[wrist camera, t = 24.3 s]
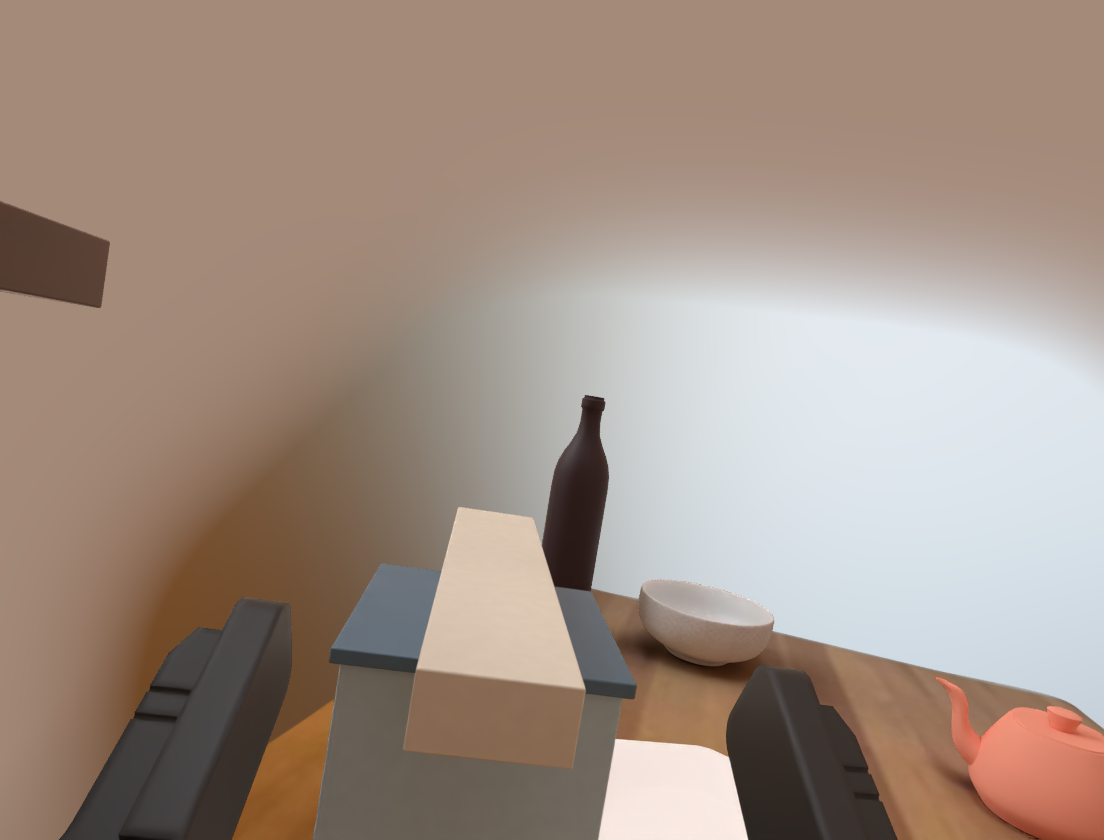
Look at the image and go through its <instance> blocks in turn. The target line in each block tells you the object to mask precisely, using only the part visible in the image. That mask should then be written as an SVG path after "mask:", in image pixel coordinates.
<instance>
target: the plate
mask: <svg viewBox="0 0 1104 840" xmlns="http://www.w3.org/2000/svg"><path fill="white" fill-rule="evenodd" d="M598 840H748V837H747V833H746V829H745V824H744V820H743V816H742V811H741V807H740V803H739V798H738V794H737V790H736V786H735V781H734V777H733V773H732V768H731V764H730V760H729V757H727V756H725V755H722V754H720V753H718V752H716V751H714V750H712V749H708V748H705V747H701V746H695V745H683V744H670V743H658V742H646V741H633V740H621V739H616V740H615V745H614V751H613V757H612V763H611V769H610V774H609V780H608V786H607V792H606V797H605V803H604V809H603V815H602V821H601V826H600V832H599V838H598Z"/></svg>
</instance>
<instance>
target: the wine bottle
mask: <svg viewBox="0 0 1104 840" xmlns="http://www.w3.org/2000/svg"><path fill="white" fill-rule="evenodd" d="M581 407H582V409H583V410H582V416H581V422H580V425H579V428H578V431H577V433H576V435H575V436H574V438H573V439H572V441H571V442H570V444H569V445H568V446H567V448H566V449H565V450H564V452H563V453H562V455H561V457H560V458H559V460H558V463H557V465H556V468H555V471H554V476H553V480H552V485H551V491H550V498H549V504H548V510H547V516H546V522H545V528H544V534H543V540H542V548H543V552H544V555H545V558H546V561H547V565H548V568H549V571H550V574H551V578H552V581H553V584H554V587H561V588H568V589H576V590H583V591H590V592H591V586H592V580H593V574H594V568H595V562H596V556H597V550H598V544H599V538H600V532H601V526H602V520H603V514H604V508H605V502H606V496H607V490H608V480H609V472H608V464H607V460H606V456H605V453H604V450H603V447H602V443H601V439H600V422H601V416H602V411H604V408H605V401H604V398H599V397H594V396H588V395H585V397H584V398H583V399H582V406H581Z"/></svg>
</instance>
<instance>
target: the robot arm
mask: <svg viewBox="0 0 1104 840" xmlns="http://www.w3.org/2000/svg"><path fill="white" fill-rule="evenodd" d="M291 667H292V632H291V606H290V604H289V603H286V602H278V601H270V600H262V599H254V598H245V597H242V598H241V599H239V600H238V602H237V603H236V605H235V606H234V608H233V610H232V612H231V614H230V616H229V618H228V620H227V622H226V624H225V626H224V628H223V630H216V629H208V628H200V627H198V628H197V629H196V630H195V631H193V632H192V633H191V634H190V635H189V636H188V637H187V638H186V639H184V640H183V641H182V642H181V643H180V644H179V645H177V646H176V647H175V648H174V649H173V650H172V651H171V652H170V653H169V654H168V655H167V657H166V659H165V660H164V662H163V664H162V666H161V667H160V669H159V671H158V673H157V674H156V676H155V678H154V680H153V681H152V683H151V685H150V690H149V691H148V692H146V694H145V695H144V697H143V699H142V701H141V702H140V704H139V706H138V708H137V709H136V711H135V716H134V718H133V719H131V720H130V722H129V723H128V725H127V727H126V729H125V730H124V732H123V734H122V736H121V737H120V739H119V741H118V743H117V745H116V746H115V748H114V750H113V752H112V753H111V755H110V757H109V758H108V760H107V762H106V764H105V765H104V767H103V769H102V771H101V772H100V774H99V776H98V778H97V779H96V781H95V783H94V785H93V786H92V788H91V790H90V792H89V793H88V795H87V797H86V799H85V801H84V802H83V804H82V806H81V807H80V809H79V811H78V813H77V814H76V816H75V818H74V820H73V821H72V823H71V824H70V826H69V827H68V829H67V830H66V832H65V833H64V834H63V836H62V837H61V838H60V839H59V840H232V837H233V835H234V832H235V829H236V827H237V824H238V821H239V819H240V816H241V813H242V811H243V808H244V805H245V803H246V800H247V797H248V795H249V792H250V789H251V787H252V784H253V781H254V778H255V776H256V773H257V770H258V768H259V765H260V762H261V760H262V757H263V754H264V752H265V749H266V746H267V744H268V741H269V738H270V736H271V733H272V730H273V727H274V725H275V722H276V720H277V717H278V714H279V712H280V709H281V706H282V703H283V701H284V698H285V695H286V691H287V688H288V684H289V679H290V674H291ZM726 743H727V750H728V755H729V760H730V764H731V768H732V773H733V777H734V781H735V786H736V790H737V794H738V798H739V803H740V807H741V811H742V816H743V820H744V824H745V829H746V833H747V837H748V840H897V837H896V835H895V832H894V830H893V827H892V825H891V822H890V820H889V817H888V815H887V813H886V810H885V808H884V805H883V803H882V802H881V801H879V793H878V790H877V788H876V785H875V783H874V781H873V778H872V776H871V774H869V773H868V766H867V763H866V761H865V758H864V756H863V754H862V751H861V749H860V746H859V744H858V741H857V739H856V736H855V735H854V733H853V732H852V731H851V730H850V728H849V727H848V726H847V724H846V723H845V722H844V720H843V719H842V718H841V717H840V715H839V714H838V713H837V711H836V710H835V709H834V707H833V706H826V705H820V703H819V700H818V698H817V695H816V692H815V690H814V687H813V684H812V682H811V680H810V678H809V676H808V675H807V673H806V672H804V671H803V670H800V669H792V668H784V667H776V666H768V665H759V666H757V667H756V669H755V670H754V672H753V674H752V675H751V677H750V679H749V681H748V682H747V684H746V686H745V688H744V690H743V691H742V693H741V695H740V697H739V699H738V700H737V702H736V704H735V706H734V708H733V709H732V711H731V713H730V715H729V718H728V723H727V731H726Z"/></svg>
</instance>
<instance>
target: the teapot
mask: <svg viewBox="0 0 1104 840" xmlns="http://www.w3.org/2000/svg"><path fill="white" fill-rule="evenodd" d="M936 679H937V680H938V681H939V682H940V683H941V684H942V685H943V686H944V688H945V689H946V690H947V692H948V694H949V696H950V699H951V702H952V737H953V741H954V744H955V747H956V749H957V751H958V752H959V754H960V755H961V757H962V758H963V759H964V760H965V761H966V762H967V763H968V764H969V775H970V778H971V780H972V783H973V785H974V787H975V789H976V791H977V792H978V794H979V796H980V798H981V799H982V801H983V802H984V804H985V805H986V806H987V807H988V808H989V809H990V810H991V811H992V812H993V813H995V814H996V815H997V816H999V817H1000V818H1001V819H1003V820H1004V821H1006V822H1007V823H1009V824H1011V825H1012V826H1014V827H1016V828H1018V829H1020V830H1022V831H1024V832H1026V833H1028V834H1030V835H1032V836H1034V837H1036V838H1039V839H1041V840H1104V736H1103V735H1102V734H1100V733H1098V732H1097V731H1095V730H1093V729H1091V728H1089V727H1087V726H1084V725H1082V724H1080V723H1081V721H1082V718H1081V717H1080V716H1079V715H1077V714H1075V713H1074V712H1072V711H1069V710H1067V709H1064V708H1060V707H1055V706H1048V707H1047V712H1044V711H1040V710H1036V709H1031V708H1015V709H1013V710H1011V711H1010V712H1008V713H1007V714H1005V715H1004V716H1003V717H1002V718H1000V719H999V720H998V721H997V722H996V723H995V724H994V725H992V726H991V727H990V728H989V729H988V730H987V731H986V733H985V734H984V735H983V736H982V737H981V738H980V737H979V736H978V735H977V734H976V733H975V732H974V731H973V729H972V728H971V726H970V724H969V719H968V701H967V698H966V696H965V694H964V692H963V691H962V690H961V689H960V688H959V687H957V686H956V685H954V684H952V683H950V682H948V681H946V680H944V679H942V678H939V677H936Z"/></svg>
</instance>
